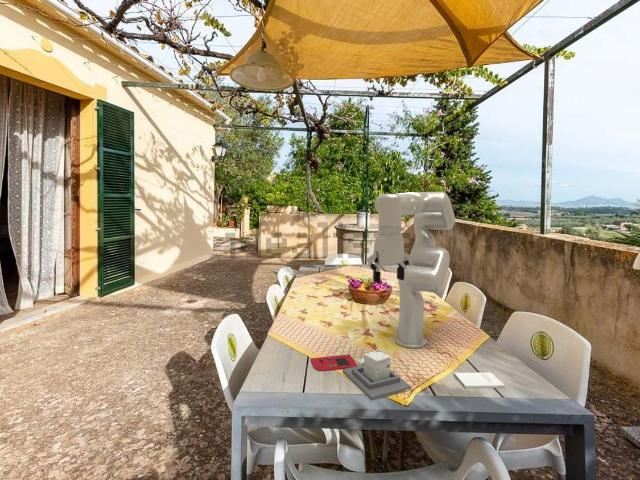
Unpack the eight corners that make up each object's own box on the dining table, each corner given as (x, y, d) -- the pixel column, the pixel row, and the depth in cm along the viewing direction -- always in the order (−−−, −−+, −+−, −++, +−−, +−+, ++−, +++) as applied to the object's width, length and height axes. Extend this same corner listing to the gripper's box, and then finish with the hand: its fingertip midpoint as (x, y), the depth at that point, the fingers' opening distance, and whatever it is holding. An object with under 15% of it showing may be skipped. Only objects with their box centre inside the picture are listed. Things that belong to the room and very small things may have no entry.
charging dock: (342, 372, 114) (342, 362, 114) (378, 364, 120) (378, 354, 120) (372, 400, 98) (372, 388, 98) (411, 389, 104) (411, 378, 103)
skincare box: (375, 383, 105) (376, 361, 104) (363, 375, 110) (363, 353, 109) (390, 378, 108) (390, 356, 108) (377, 370, 113) (377, 349, 113)
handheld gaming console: (310, 357, 124) (349, 353, 127) (310, 361, 124) (349, 357, 127) (315, 369, 114) (358, 365, 118) (315, 373, 115) (358, 369, 118)
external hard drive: (453, 377, 113) (490, 376, 113) (464, 390, 104) (504, 389, 105) (453, 372, 112) (490, 371, 113) (465, 385, 104) (504, 384, 105)
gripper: (403, 229, 122) (402, 276, 124) (361, 231, 115) (361, 281, 117) (417, 231, 115) (416, 280, 117) (374, 233, 108) (373, 286, 110)
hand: (388, 280), depth 117 cm, fingers open, 9 cm apart
